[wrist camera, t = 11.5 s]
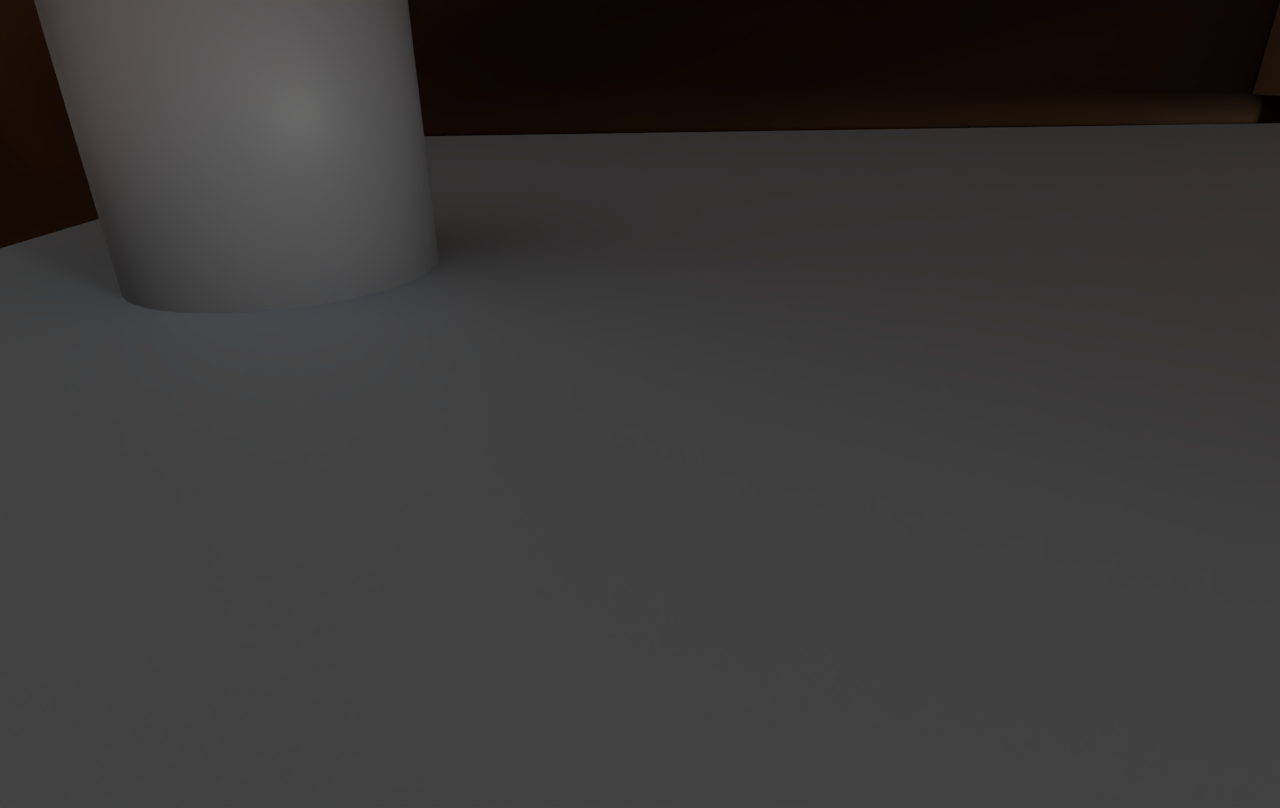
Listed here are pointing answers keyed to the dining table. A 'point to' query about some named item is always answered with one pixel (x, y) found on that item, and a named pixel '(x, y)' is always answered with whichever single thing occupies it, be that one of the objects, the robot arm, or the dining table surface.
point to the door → (625, 450)
